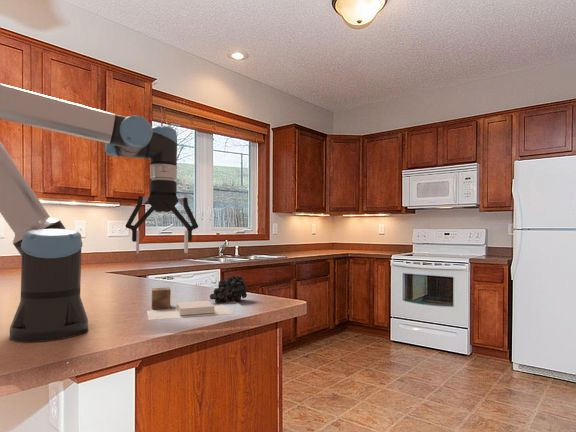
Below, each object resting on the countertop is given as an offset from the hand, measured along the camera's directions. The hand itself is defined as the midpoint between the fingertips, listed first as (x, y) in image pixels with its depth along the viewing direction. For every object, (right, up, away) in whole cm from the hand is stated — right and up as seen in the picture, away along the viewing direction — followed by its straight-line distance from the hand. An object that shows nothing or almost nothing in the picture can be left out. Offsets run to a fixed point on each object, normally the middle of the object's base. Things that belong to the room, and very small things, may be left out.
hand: (162, 253), depth 114 cm
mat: (+9, -16, -5) cm, 20 cm away
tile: (+7, -15, -6) cm, 17 cm away
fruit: (+17, -17, +13) cm, 28 cm away
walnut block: (-1, -17, +2) cm, 17 cm away
